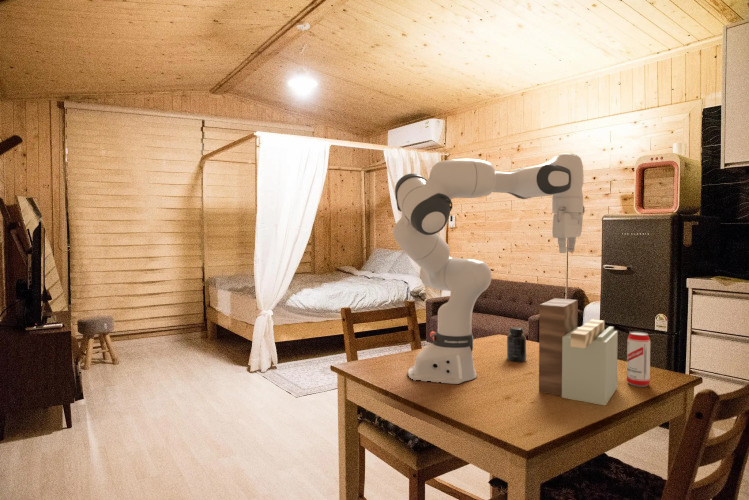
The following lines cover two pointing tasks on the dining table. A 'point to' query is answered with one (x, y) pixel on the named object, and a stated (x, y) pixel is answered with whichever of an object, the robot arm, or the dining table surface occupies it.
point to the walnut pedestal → (554, 341)
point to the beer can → (638, 359)
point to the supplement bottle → (516, 345)
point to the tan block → (587, 333)
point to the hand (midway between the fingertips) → (567, 252)
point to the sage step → (590, 368)
